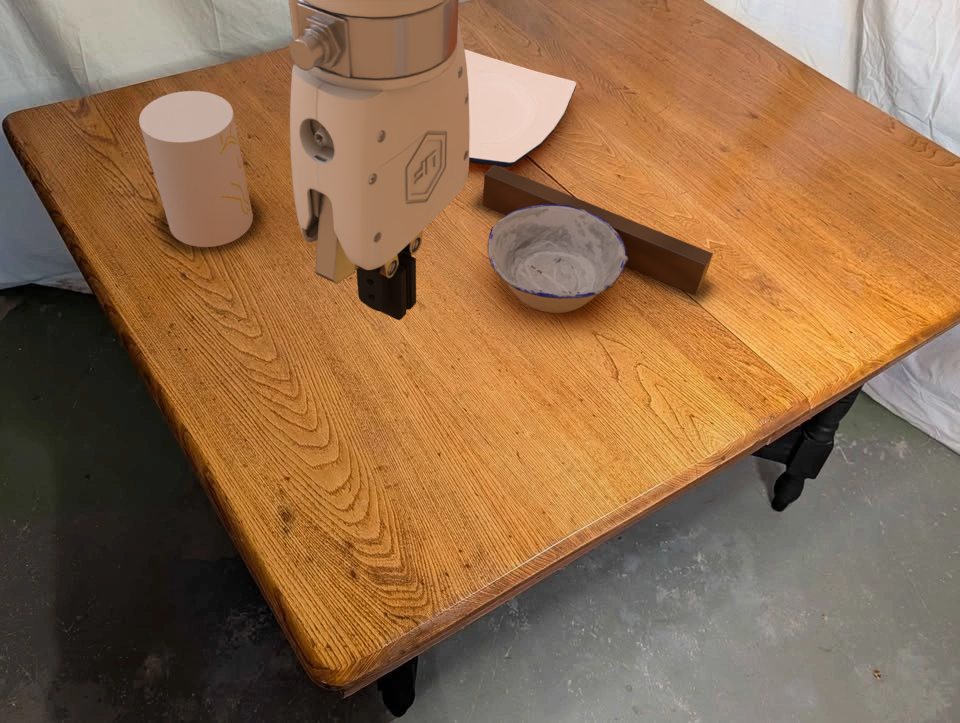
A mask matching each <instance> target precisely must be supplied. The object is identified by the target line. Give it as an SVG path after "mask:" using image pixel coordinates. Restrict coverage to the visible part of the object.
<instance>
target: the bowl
mask: <svg viewBox="0 0 960 723" xmlns="http://www.w3.org/2000/svg"><path fill="white" fill-rule="evenodd" d="M487 255H488V259H489V263H490V266H491V267H492V269H493V270H494V272H495V273H496V274H497V275H498V277H499V278H500V279H501V280H502V281H503V282H504V283H505V284H506V286H508V288H509V289H510V291H511V292H512V293H513V294H514V295H515V296H516V298H517V299H518V300H519V301H520V302H522V303H523V304H525V305H526V306H528V307H530V308H531V309H534V310H537V311H540V312H544V313H551V314H564V313H568V312H573V311H576V310H577V309H580V308H584V307H585V306H587V304H588V303H590V302H591V301H592V300H594V298H596V297H597V296H600V294H602V293H604V292H606V291H608V290H609V289H612V288H613V286H614V285H615V284H616V282H617V281H618V280H619V279H620V277H621V275H622V274H623V273H624V271H625V267H626V266H625V264H626V262H627V261H628V257H627V256H626V248H625V246H624V242H623V240H622V239H621V237H620V235H619V234H618V233H617V232H616V231H615V230H614V228H613V227H612V226H611V225H610V224H609V223H608V222H607V221H605V220H604V219H602V218H600V217H599V216H596V215H594V214H593V213H590V212H587V211H585V210H583V209H578V208H575V207H572V206H569V205H557V204H550V205H545V204H542V205H536V206H531V207H526V208H521V209H518V210H514V211H513V212H510V213H509V214H508V215H504V216H503V217H502V218H500V219H499V220H498V221H497V222H496V223H495V224H494V226H492V227H491V229H490V231H489V235H488V240H487Z"/></svg>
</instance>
